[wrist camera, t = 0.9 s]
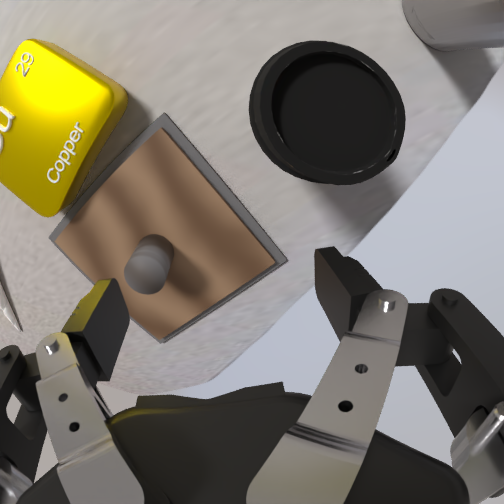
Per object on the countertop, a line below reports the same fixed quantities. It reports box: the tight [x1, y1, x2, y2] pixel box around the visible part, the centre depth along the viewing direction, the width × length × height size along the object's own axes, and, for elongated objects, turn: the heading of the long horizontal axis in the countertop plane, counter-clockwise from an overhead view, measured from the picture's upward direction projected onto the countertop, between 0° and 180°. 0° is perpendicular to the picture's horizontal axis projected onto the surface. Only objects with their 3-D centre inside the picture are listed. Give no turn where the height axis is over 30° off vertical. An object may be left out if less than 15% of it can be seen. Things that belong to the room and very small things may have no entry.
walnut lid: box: [54, 127, 275, 340], centre depth 28 cm, size 18×18×6 cm
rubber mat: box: [49, 113, 287, 343], centre depth 31 cm, size 20×20×1 cm
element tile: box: [0, 39, 128, 217], centre depth 22 cm, size 15×15×5 cm
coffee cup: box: [249, 41, 406, 185], centre depth 19 cm, size 8×8×15 cm
